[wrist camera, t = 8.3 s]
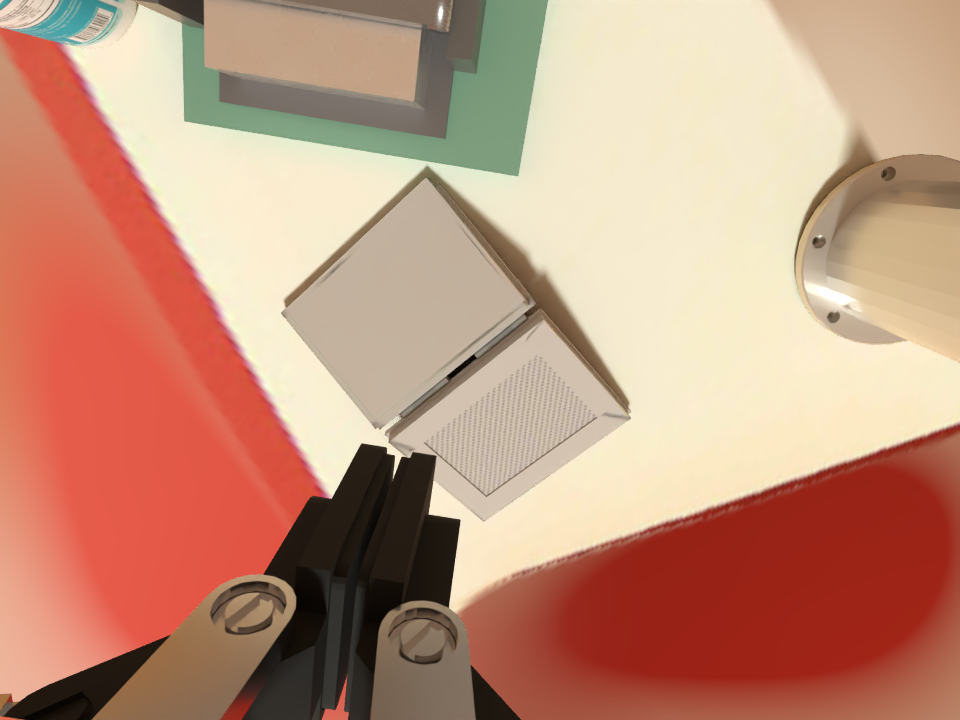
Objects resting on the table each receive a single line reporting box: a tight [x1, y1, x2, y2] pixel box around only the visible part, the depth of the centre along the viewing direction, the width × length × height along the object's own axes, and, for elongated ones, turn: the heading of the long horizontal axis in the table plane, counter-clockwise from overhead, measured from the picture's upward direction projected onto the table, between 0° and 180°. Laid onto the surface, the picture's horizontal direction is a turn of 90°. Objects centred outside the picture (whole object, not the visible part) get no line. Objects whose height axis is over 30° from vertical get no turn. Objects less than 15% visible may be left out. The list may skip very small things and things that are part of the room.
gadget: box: [281, 177, 631, 521], centre depth 41 cm, size 23×15×4 cm, turn 41°
